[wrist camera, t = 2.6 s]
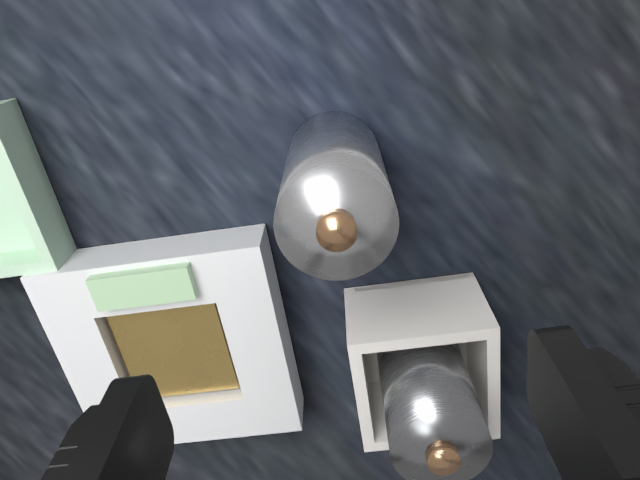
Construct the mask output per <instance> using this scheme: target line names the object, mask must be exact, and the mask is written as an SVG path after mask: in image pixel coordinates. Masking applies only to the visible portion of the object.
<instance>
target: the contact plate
mask: <svg viewBox="0 0 640 480" xmlns="http://www.w3.org/2000/svg"><path fill="white" fill-rule="evenodd" d="M107 320H108V322H109V325H110V327H111V329H112V332H113V334H114V337H115V339H116V342H117V344H118V347H119V349H120V352H121V354H122V357H123V359H124V362H125V364H126V367H127V369H128V372H129V374H130V376H139V375H147V374H149V375H151V376H152V377H153V378H154V379H155V382H156V384H157V387H158V389H159V392H160V394H161V397H163V396H172V395H181V394H190V393H199V392H208V391H217V390H226V389H235V388H239V385H240V384H239V381H238V378H237V374H236V371H235V367H234V364H233V360H232V357H231V353H230V350H229V346H228V343H227V339H226V336H225V332H224V329H223V326H222V322H221V319H220V315H219V312H218V308H217V305H216V303H212V304H204V305H196V306H188V307H180V308H172V309H164V310H156V311H148V312H140V313H132V314H124V315H116V316H108V317H107Z"/></svg>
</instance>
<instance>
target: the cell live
mask: <svg viewBox="0 0 640 480" xmlns="http://www.w3.org/2000/svg"><path fill="white" fill-rule="evenodd" d="M398 232H399V215H398V210H397V206H396V203H395V200H394V196H393V193H392V190H391V186H390V183H389V180H388V177H387V173H386V170H385V167H384V163H383V160H382V157H381V153H380V150H379V147H378V144H377V140H376V138H375V136H374V134H373V132H372V131H371V129H370V128H369V127H368V126H367V125H366V124H365V123H364V122H363V121H362V120H360V119H359V118H357V117H355V116H353V115H351V114H348V113H345V112H338V111H330V112H324V113H320V114H317V115H315V116H313V117H311V118H309V119H308V120H306V121H305V122H304V123H303V124H302V125H301V126H300V127H299V128H298V129H297V130H296V132H295V134H294V135H293V137H292V140H291V143H290V146H289V150H288V155H287V159H286V164H285V168H284V173H283V177H282V182H281V186H280V191H279V195H278V200H277V204H276V209H275V214H274V235H275V238H276V242H277V244H278V246H279V248H280V250H281V252H282V253H283V255H284V256H285V257H286V259H287V260H288V261H289V262H290V263H291V264H292V265H293V266H295V267H296V268H297V269H299V270H300V271H302V272H304V273H306V274H308V275H310V276H313V277H316V278H319V279H324V280H334V281H338V280H348V279H353V278H356V277H359V276H362V275H364V274H366V273H368V272H370V271H372V270H373V269H375V268H376V267H377V266H379V265H380V264H381V263H382V262H383V261H384V260H385V259H386V258H387V256H388V255H389V254H390V252H391V250H392V249H393V247H394V245H395V242H396V240H397V236H398Z"/></svg>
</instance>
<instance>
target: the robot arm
mask: <svg viewBox="0 0 640 480" xmlns="http://www.w3.org/2000/svg"><path fill="white" fill-rule="evenodd" d="M526 388H527V397H528V402H529V406H530V409H531V413H532V415H533V418H534V420H535V422H536V424H537V426H538V428H539V430H540V433H541V435H542V437H543V439H544V441H545V443H546V445H547V447H548V449H549V452H550V454H551V456H552V458H553V460H554V462H555V464H556V466H557V469H558V471H559V473H560V475H561V477H562V479H563V480H640V381H639V380H638V378H637V377H636V376H635V375H634V373H633V372H632V371H631V369H630V368H629V367H628V366H627V364H626V363H624V362H623V361H621V360H620V359H618V358H617V357H615V356H614V355H612V354H611V353H609V352H608V351H606V350H605V349H603V348H594V349H586V347H585V346H584V344H583V343H582V341H581V340H580V339H579V337H578V336H577V334H576V333H575V331H574V330H573V329H572V328H571V327H570V326H559V327H550V328H542V329H534V330H530V331H529V334H528V349H527V383H526ZM173 450H174V431H173V426H172V423H171V420H170V418H169V415H168V413H167V410H166V407H165V405H164V402H163V400H162V397H161V394H160V392H159V389H158V387H157V384H156V382H155V379H154V378H153V377H152V376H151V375H149V374H147V375H139V376H131V377H122V378H115V379H114V380H112V381H111V383H110V384H109V386H108V388H107V390H106V392H105V394H104V396H103V398H102V400H101V402H100V404H99V405H91V406H90V407H89V408H88V409H87V410H86V411H85V412H84V413H83V414H82V415H81V416H80V417H79V418H78V419H77V420H76V421H75V422H74V423H73V424H72V425H71V426H70V428H69V430H68V432H67V434H66V435H65V437H64V439H63V441H62V443H61V444H60V446H59V451H57V452H56V453H55V455H54V457H53V459H52V460H51V462H50V464H49V469H46V471H45V473H44V475H43V477H42V478H41V480H165V477H166V474H167V471H168V468H169V464H170V461H171V458H172V455H173Z"/></svg>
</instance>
